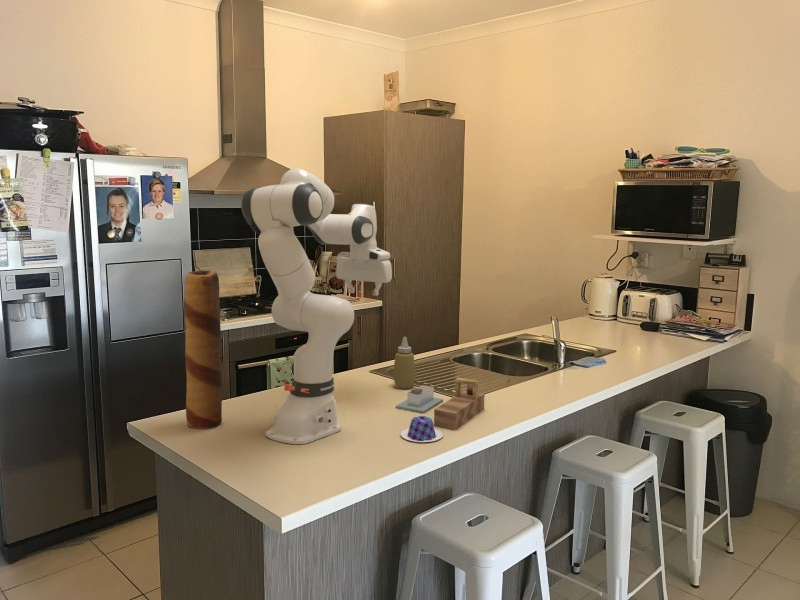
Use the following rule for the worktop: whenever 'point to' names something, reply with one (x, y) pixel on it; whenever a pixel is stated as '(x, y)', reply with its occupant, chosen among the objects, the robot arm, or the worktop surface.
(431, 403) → the rubber mat
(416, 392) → the lever cap
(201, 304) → the wafer roll
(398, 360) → the squeeze bottle
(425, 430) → the pudding
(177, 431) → the worktop surface
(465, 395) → the brown stand
